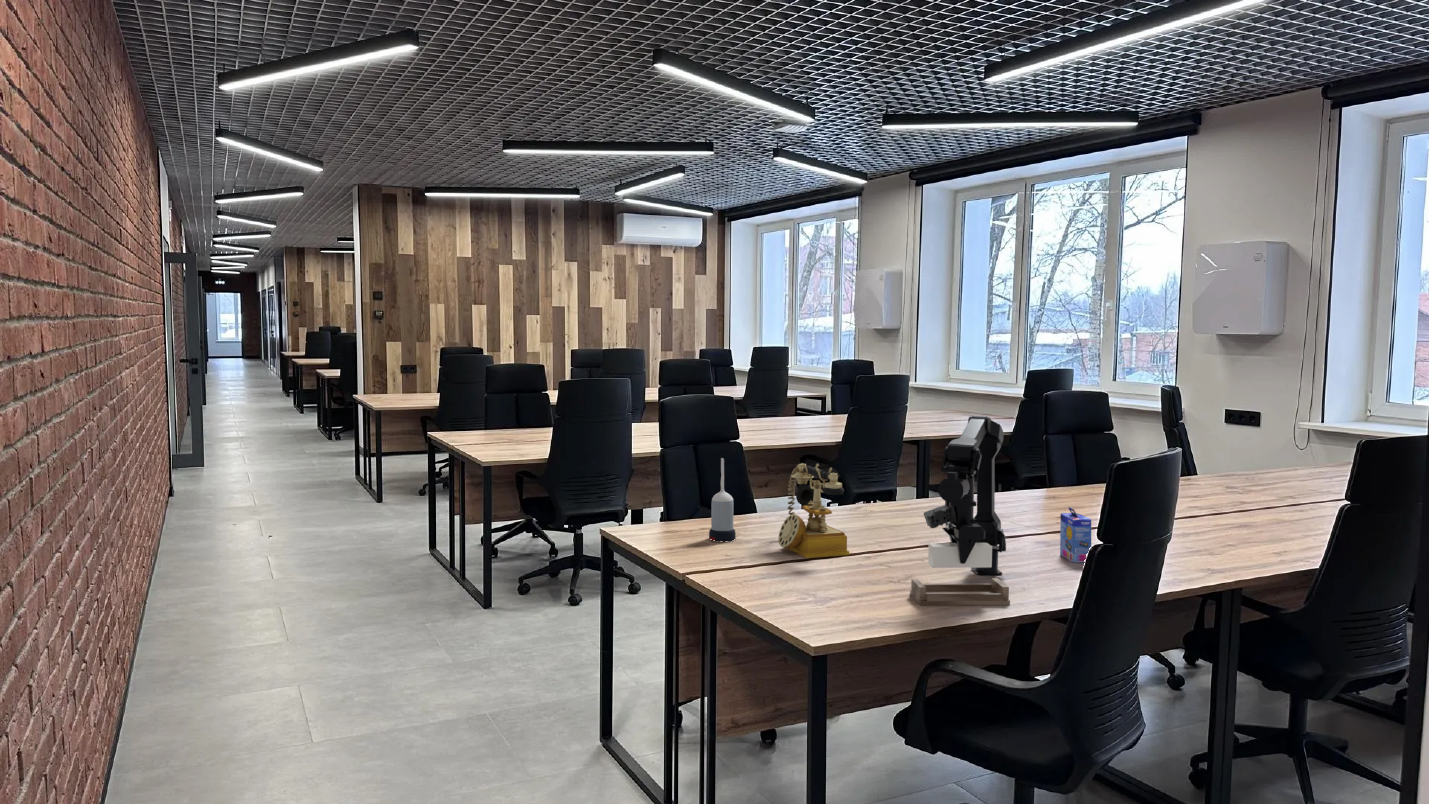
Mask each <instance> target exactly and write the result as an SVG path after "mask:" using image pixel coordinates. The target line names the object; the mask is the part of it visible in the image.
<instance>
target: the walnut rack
mask: <svg viewBox="0 0 1429 804" xmlns="http://www.w3.org/2000/svg"><path fill="white" fill-rule="evenodd" d="M910 582H911V587H910V588H911V589H910V590H909V591H910V592H909V594H910V596H911V597H912V598H913V597H914V598H913V599H914V600H915V601H916V602H917V603H918V605H920V606H1011V600H1010V599H1009V597H1010V596H1009V593H1010V592H1009V591H1010V586H1009V585H1007V584H1006V583H1005V582H1003V581H1002V580H1000V579H999V578H996V577H994V578H993V577H992V578H991V583H981V582H980V583H922V582H921V580H919V578H911V581H910Z"/></svg>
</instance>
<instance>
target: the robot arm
mask: <svg viewBox="0 0 1429 804" xmlns="http://www.w3.org/2000/svg"><path fill="white" fill-rule="evenodd" d="M1003 442H1004V430H1003V428H1002V425H1001V424H1000V423H998V422H995V421H994V420H992V419H991V417H990V416H987V415H971V416H969V417H968V420H967V424H966V426H965V428H964V430H963V432H962V433H961V434H960V436H959V438H954V439H952V440H951V441H950V442H949V443H948V444H947V446H945V448H944V453H943V457H942V461H941V462H942V463H941V467H940V473H943V474H946V478H944V479H942V480H941V481H940V482H939V485H938V487H937V489H938V495H939V496H940V498H941V499H942V500H943V501H944V505H942V506H938V507H936V508H932V509H930V510H927V511H924V512H923V516H924V519H925V522H926V524H927V526H928V527H929V528H930V529H935V528H939V526H944V525H945V527H942V530H943V531H944V532H945V533H946V534H947V535H948V537H949V539H950V543H957V544H958V552H959V559H960V563H961V564H965V563H966V561H967V559H968V557H969V555H970V553H971V551H972V549H973V547H974V545H975V544H976V543H988V544H989V545H991V546H992V567H977V568H970V569H971V570H972V571H973V572H974V573H975V574H976V575H980V576H985V575H994V576H995V575H997V576H998V575H1003V572H1002V571H1001V570H1000V569H999V553H1002V552H1007V541H1006V534H1004V530H1003V528H1002V521H1001V519H1000V518H999V516H998V515H997V513H996V509H995V507H996V505H995V497H996V495H995V493H996V490H995V487H996V486H995V484H996V483H995V481H996V480H995V476H996V475H995V472H996V471H995V464H996V463H995V459H996V456H997V455H998V453H999V451H1000V449H1001V448H1002V444H1003ZM975 475H976V501H975V500H974V499H975ZM974 507H976V514H975V516H974Z"/></svg>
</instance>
